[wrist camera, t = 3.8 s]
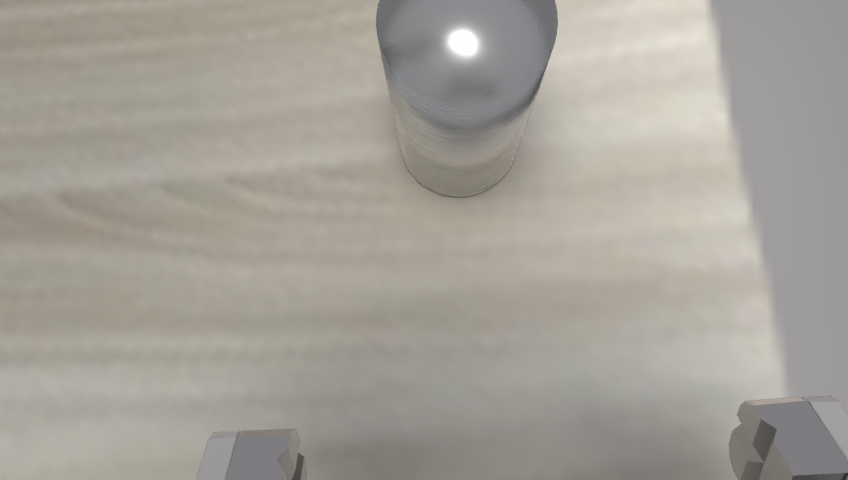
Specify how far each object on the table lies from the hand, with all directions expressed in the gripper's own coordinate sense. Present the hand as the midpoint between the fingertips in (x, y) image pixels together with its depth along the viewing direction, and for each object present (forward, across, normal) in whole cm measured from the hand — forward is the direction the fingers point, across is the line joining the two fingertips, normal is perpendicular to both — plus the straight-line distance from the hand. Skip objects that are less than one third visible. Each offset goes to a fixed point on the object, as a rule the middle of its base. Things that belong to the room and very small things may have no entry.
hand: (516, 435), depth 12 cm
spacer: (+18, 0, +2) cm, 18 cm away
